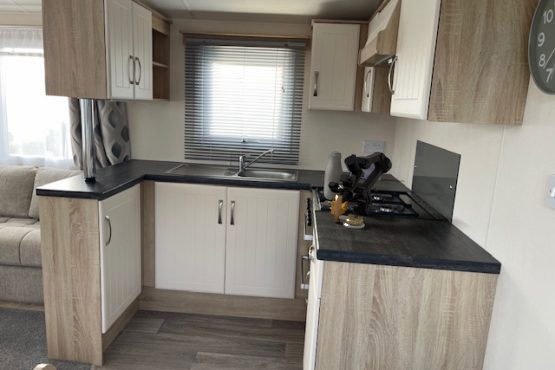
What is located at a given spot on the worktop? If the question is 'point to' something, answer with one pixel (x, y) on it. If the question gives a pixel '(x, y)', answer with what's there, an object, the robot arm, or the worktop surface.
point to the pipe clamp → (344, 208)
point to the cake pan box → (368, 171)
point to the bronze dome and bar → (348, 219)
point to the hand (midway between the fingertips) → (339, 204)
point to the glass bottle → (332, 173)
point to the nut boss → (353, 226)
